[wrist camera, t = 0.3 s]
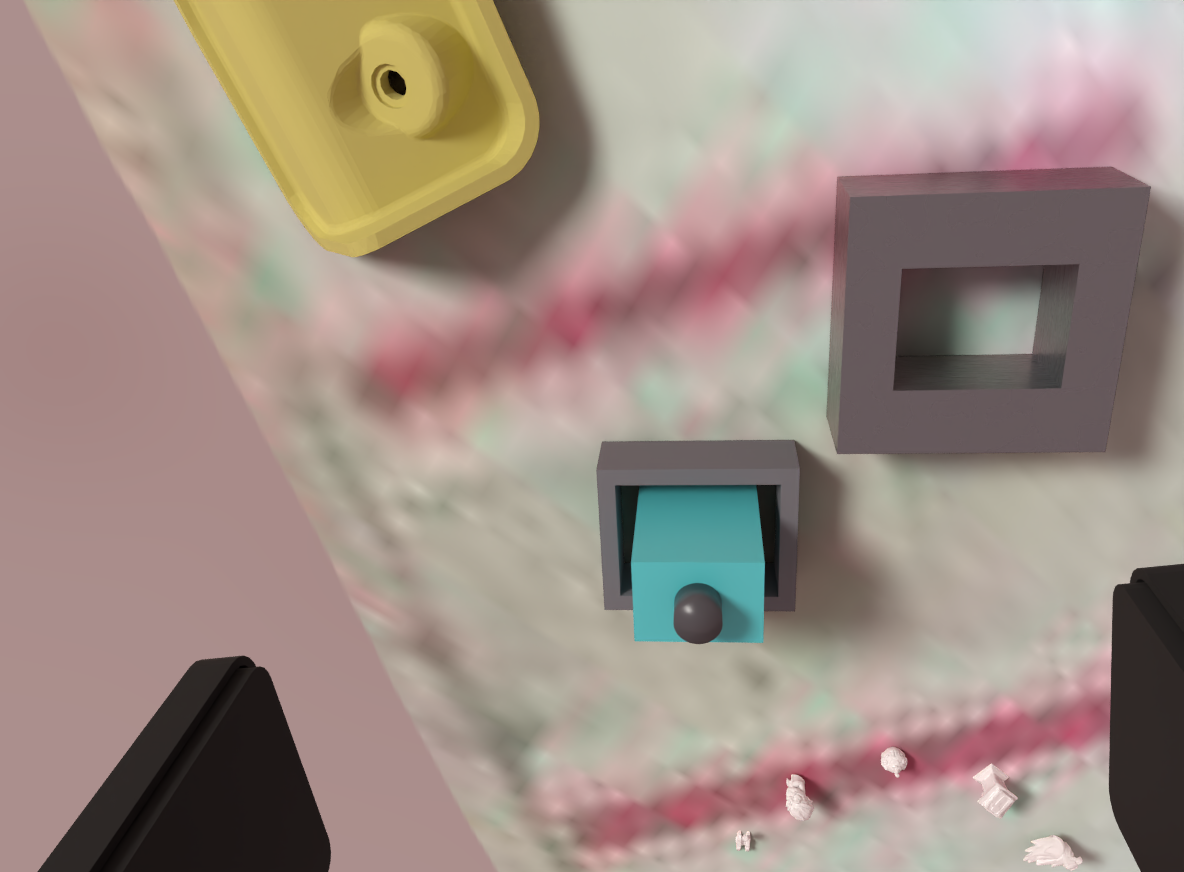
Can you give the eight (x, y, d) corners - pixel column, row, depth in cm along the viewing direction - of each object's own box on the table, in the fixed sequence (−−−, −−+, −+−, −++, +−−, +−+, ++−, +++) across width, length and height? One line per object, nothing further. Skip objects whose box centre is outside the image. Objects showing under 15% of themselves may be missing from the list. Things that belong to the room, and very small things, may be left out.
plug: (640, 474, 50) (628, 582, 41) (755, 473, 49) (767, 582, 41) (643, 545, 52) (632, 662, 43) (754, 545, 51) (765, 664, 43)
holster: (601, 441, 49) (596, 469, 47) (794, 440, 48) (799, 468, 46) (609, 576, 53) (604, 609, 50) (789, 576, 52) (795, 611, 49)
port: (837, 176, 43) (850, 197, 40) (1111, 166, 42) (1150, 186, 38) (826, 416, 48) (836, 453, 44) (1073, 413, 47) (1105, 451, 43)
